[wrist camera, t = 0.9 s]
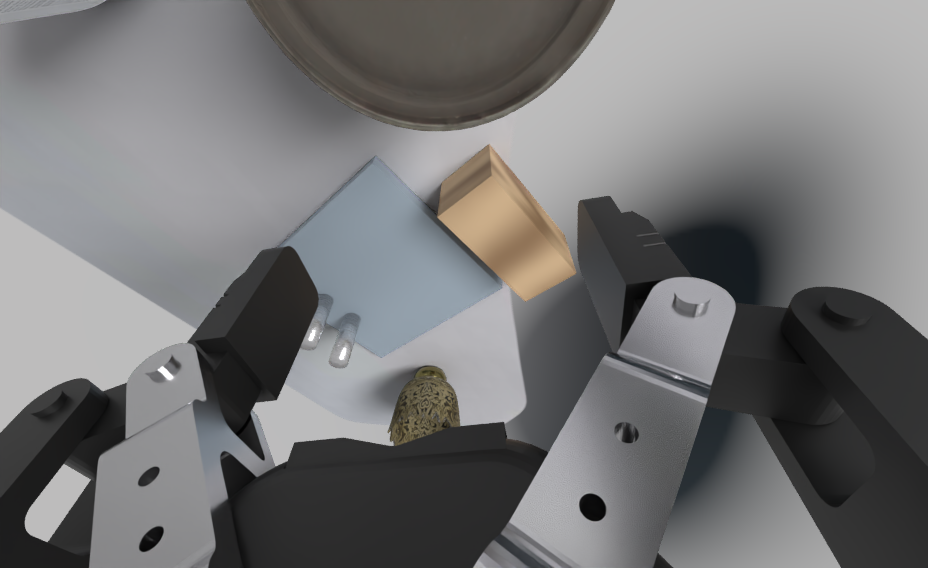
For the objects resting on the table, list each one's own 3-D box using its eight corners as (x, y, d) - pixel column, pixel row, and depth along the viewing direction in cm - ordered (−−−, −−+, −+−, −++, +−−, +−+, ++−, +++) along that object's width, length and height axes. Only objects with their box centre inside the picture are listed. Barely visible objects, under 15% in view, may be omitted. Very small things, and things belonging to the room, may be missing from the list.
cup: (398, 350, 42) (385, 418, 36) (465, 355, 42) (464, 423, 36) (399, 388, 47) (388, 454, 41) (459, 392, 47) (457, 458, 41)
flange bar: (441, 181, 29) (437, 217, 25) (489, 143, 27) (491, 175, 23) (519, 261, 34) (525, 301, 30) (564, 234, 32) (576, 273, 28)
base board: (376, 155, 27) (372, 162, 26) (501, 279, 35) (502, 287, 34) (257, 266, 34) (251, 275, 33) (383, 349, 42) (381, 358, 41)
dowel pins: (323, 290, 34) (303, 335, 31) (364, 319, 37) (351, 363, 33) (312, 298, 35) (292, 343, 31) (353, 326, 38) (339, 370, 34)
